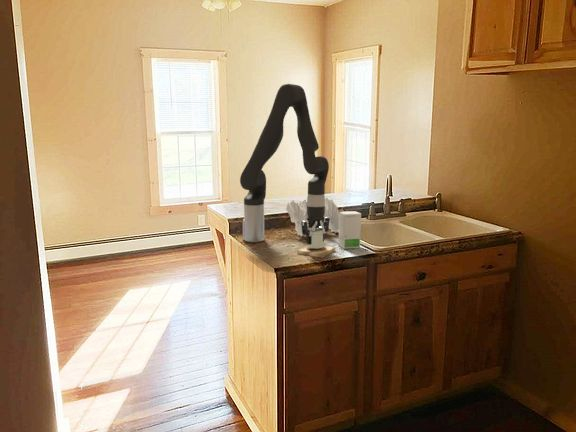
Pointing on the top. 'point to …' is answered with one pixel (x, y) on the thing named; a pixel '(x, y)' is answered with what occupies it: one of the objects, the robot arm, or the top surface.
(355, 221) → the skincare box
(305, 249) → the post
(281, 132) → the robot arm
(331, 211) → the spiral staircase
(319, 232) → the pale green cylinder
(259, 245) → the top surface
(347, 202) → the top surface
